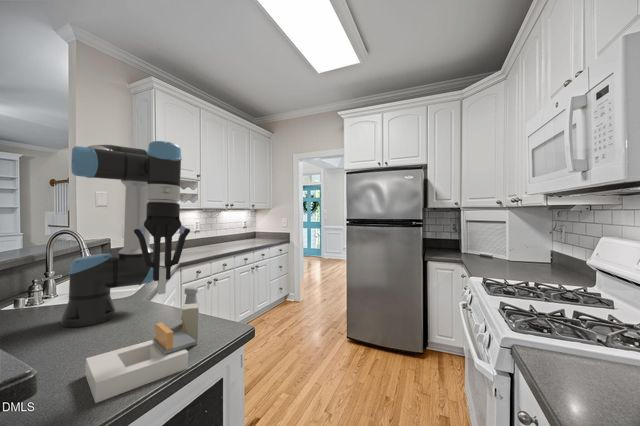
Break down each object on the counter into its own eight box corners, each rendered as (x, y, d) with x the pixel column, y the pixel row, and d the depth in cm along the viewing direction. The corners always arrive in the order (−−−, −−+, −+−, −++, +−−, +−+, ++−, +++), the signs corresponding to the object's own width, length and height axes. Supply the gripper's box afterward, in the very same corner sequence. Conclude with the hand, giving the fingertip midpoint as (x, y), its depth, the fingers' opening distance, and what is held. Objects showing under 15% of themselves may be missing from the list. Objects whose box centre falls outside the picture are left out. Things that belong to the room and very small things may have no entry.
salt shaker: (192, 327, 93) (192, 289, 93) (177, 326, 94) (178, 288, 94) (202, 321, 99) (203, 285, 99) (188, 320, 100) (189, 284, 100)
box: (182, 340, 83) (183, 304, 84) (198, 338, 85) (198, 302, 85) (181, 347, 79) (182, 309, 79) (197, 345, 80) (198, 307, 81)
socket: (85, 375, 64) (86, 358, 64) (168, 349, 77) (168, 335, 78) (95, 403, 55) (95, 383, 55) (188, 368, 68) (188, 352, 68)
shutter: (152, 342, 73) (153, 323, 73) (182, 333, 78) (182, 316, 78) (164, 354, 66) (165, 334, 66) (196, 344, 72) (196, 325, 72)
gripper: (134, 200, 64) (131, 300, 64) (194, 202, 72) (191, 292, 72) (132, 201, 70) (129, 293, 69) (187, 203, 78) (185, 286, 77)
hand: (161, 292), depth 70 cm, fingers closed
